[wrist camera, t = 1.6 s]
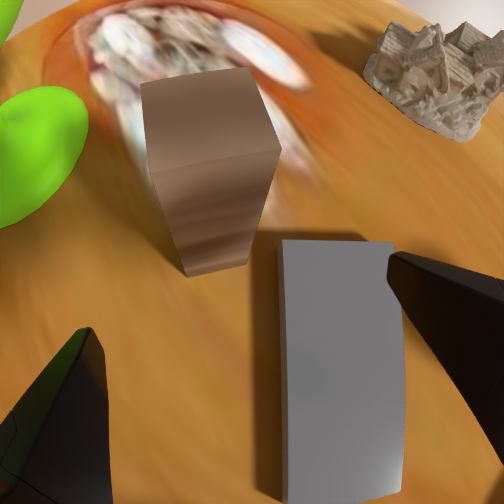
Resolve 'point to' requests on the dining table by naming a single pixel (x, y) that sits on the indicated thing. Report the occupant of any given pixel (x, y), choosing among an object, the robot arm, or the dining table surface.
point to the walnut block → (210, 163)
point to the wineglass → (36, 139)
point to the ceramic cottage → (439, 76)
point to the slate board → (340, 372)
